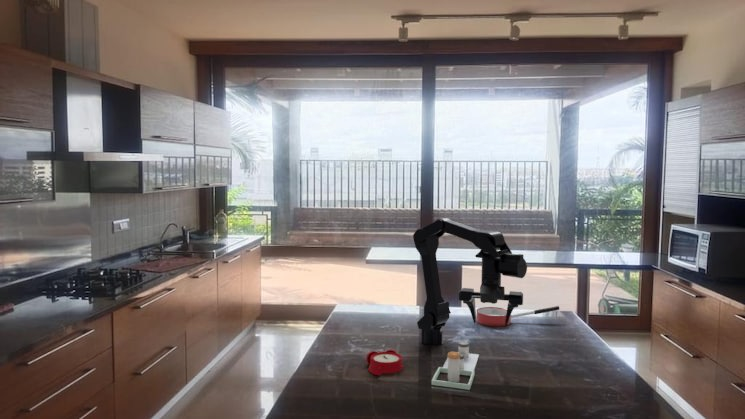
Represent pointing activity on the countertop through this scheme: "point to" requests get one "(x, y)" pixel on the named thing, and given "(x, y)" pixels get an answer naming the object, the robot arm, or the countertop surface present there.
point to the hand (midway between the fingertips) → (490, 324)
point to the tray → (452, 384)
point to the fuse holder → (465, 357)
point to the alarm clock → (384, 362)
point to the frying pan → (502, 315)
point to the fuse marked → (453, 366)
